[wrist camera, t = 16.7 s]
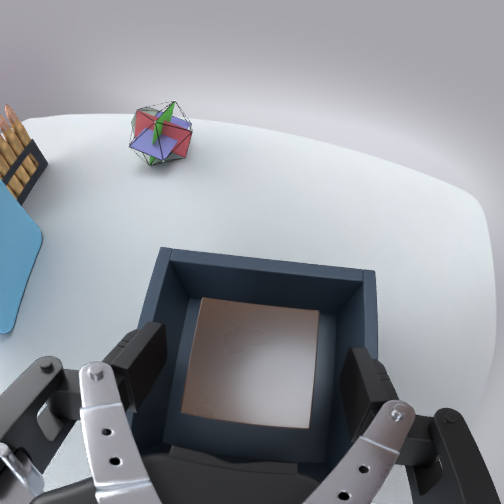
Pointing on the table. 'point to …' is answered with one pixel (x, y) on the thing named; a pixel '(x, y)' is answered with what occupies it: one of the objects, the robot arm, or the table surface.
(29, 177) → the ammunition clip
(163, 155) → the geometric puzzle
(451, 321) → the table surface
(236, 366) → the block
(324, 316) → the bin
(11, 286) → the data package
